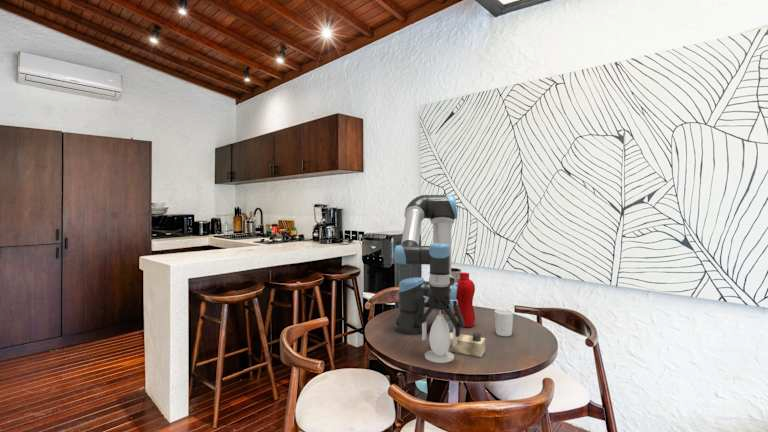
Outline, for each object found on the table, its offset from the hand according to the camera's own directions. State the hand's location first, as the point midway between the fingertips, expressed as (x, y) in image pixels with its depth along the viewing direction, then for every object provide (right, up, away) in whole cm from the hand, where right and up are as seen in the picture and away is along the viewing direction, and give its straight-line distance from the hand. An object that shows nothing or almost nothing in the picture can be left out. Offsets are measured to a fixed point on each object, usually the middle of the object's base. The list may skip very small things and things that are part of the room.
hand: (439, 342), depth 140 cm
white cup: (+32, -5, +25) cm, 41 cm away
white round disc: (0, -6, 0) cm, 6 cm away
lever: (+5, 0, +15) cm, 15 cm away
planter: (+15, -4, +59) cm, 61 cm away
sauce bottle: (0, -5, 0) cm, 5 cm away
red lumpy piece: (+18, -5, +38) cm, 42 cm away
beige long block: (+8, -5, +8) cm, 13 cm away
